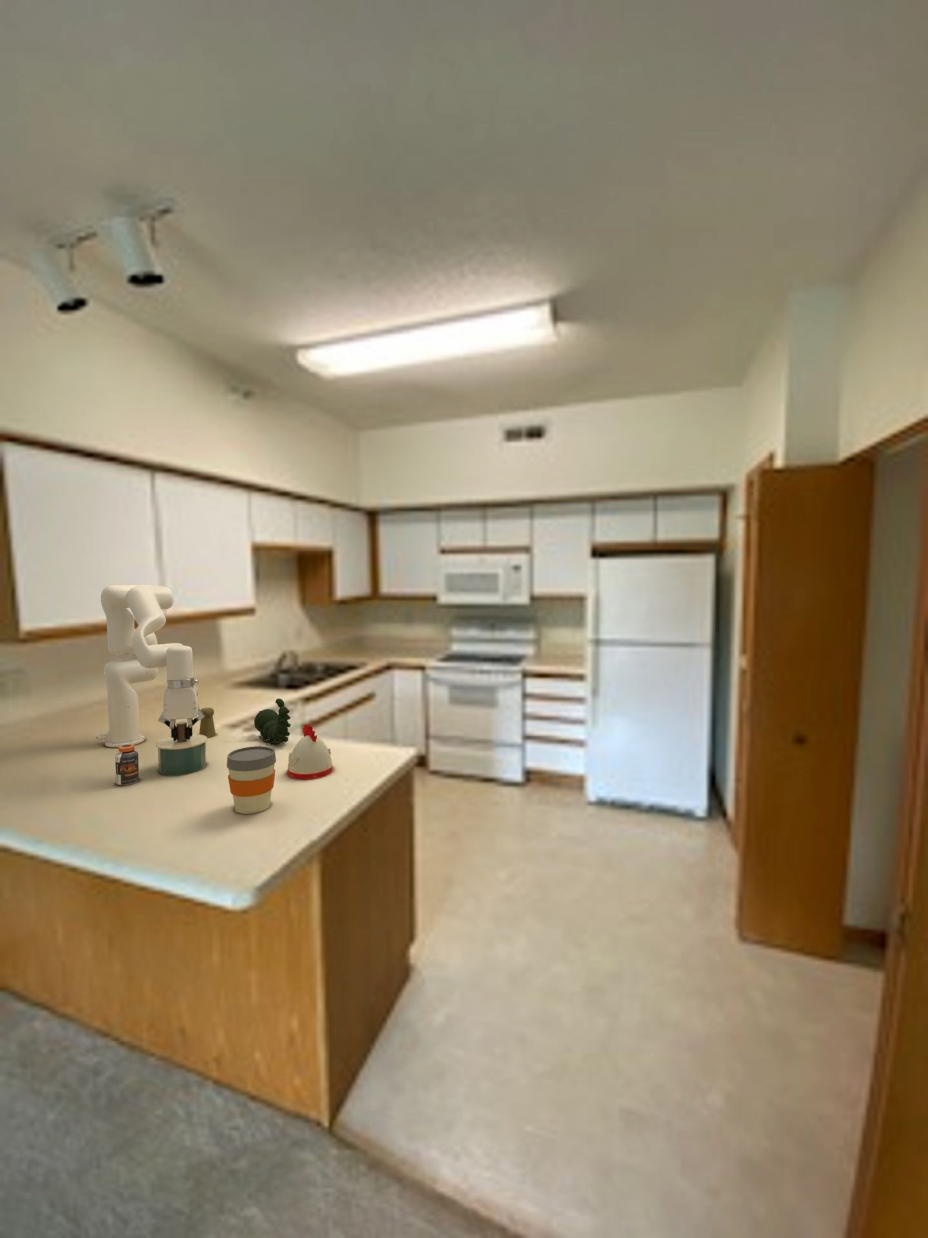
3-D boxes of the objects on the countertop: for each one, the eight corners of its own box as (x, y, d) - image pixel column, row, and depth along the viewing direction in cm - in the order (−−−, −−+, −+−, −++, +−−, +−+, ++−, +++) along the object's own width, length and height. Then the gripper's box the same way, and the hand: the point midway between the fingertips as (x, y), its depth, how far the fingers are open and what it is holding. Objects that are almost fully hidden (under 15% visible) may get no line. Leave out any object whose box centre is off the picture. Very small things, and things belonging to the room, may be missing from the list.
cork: (208, 738, 204) (208, 710, 203) (195, 737, 205) (194, 709, 204) (219, 733, 210) (218, 706, 209) (205, 732, 211) (205, 705, 210)
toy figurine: (296, 749, 197) (271, 728, 215) (298, 701, 194) (271, 684, 213) (271, 755, 191) (247, 733, 209) (272, 704, 188) (248, 687, 206)
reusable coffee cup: (227, 820, 136) (226, 763, 135) (228, 801, 147) (226, 749, 146) (278, 812, 141) (277, 757, 140) (275, 794, 152) (274, 743, 151)
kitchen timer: (319, 760, 180) (318, 718, 179) (340, 771, 171) (340, 726, 170) (280, 770, 171) (279, 725, 170) (300, 782, 161) (299, 735, 160)
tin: (155, 777, 164) (154, 751, 163) (163, 763, 177) (162, 738, 176) (203, 772, 169) (203, 746, 168) (207, 758, 181) (207, 734, 181)
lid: (152, 753, 163) (151, 731, 162) (160, 739, 176) (160, 719, 176) (204, 748, 168) (204, 726, 167) (209, 735, 182) (208, 715, 181)
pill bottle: (119, 787, 156) (118, 750, 155) (113, 782, 160) (111, 745, 159) (142, 781, 160) (140, 745, 160) (135, 776, 164) (134, 741, 164)
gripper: (209, 680, 177) (210, 733, 178) (153, 683, 171) (155, 738, 172) (207, 684, 170) (208, 740, 171) (148, 687, 164) (151, 745, 165)
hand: (182, 738), depth 172 cm, fingers open, 3 cm apart
